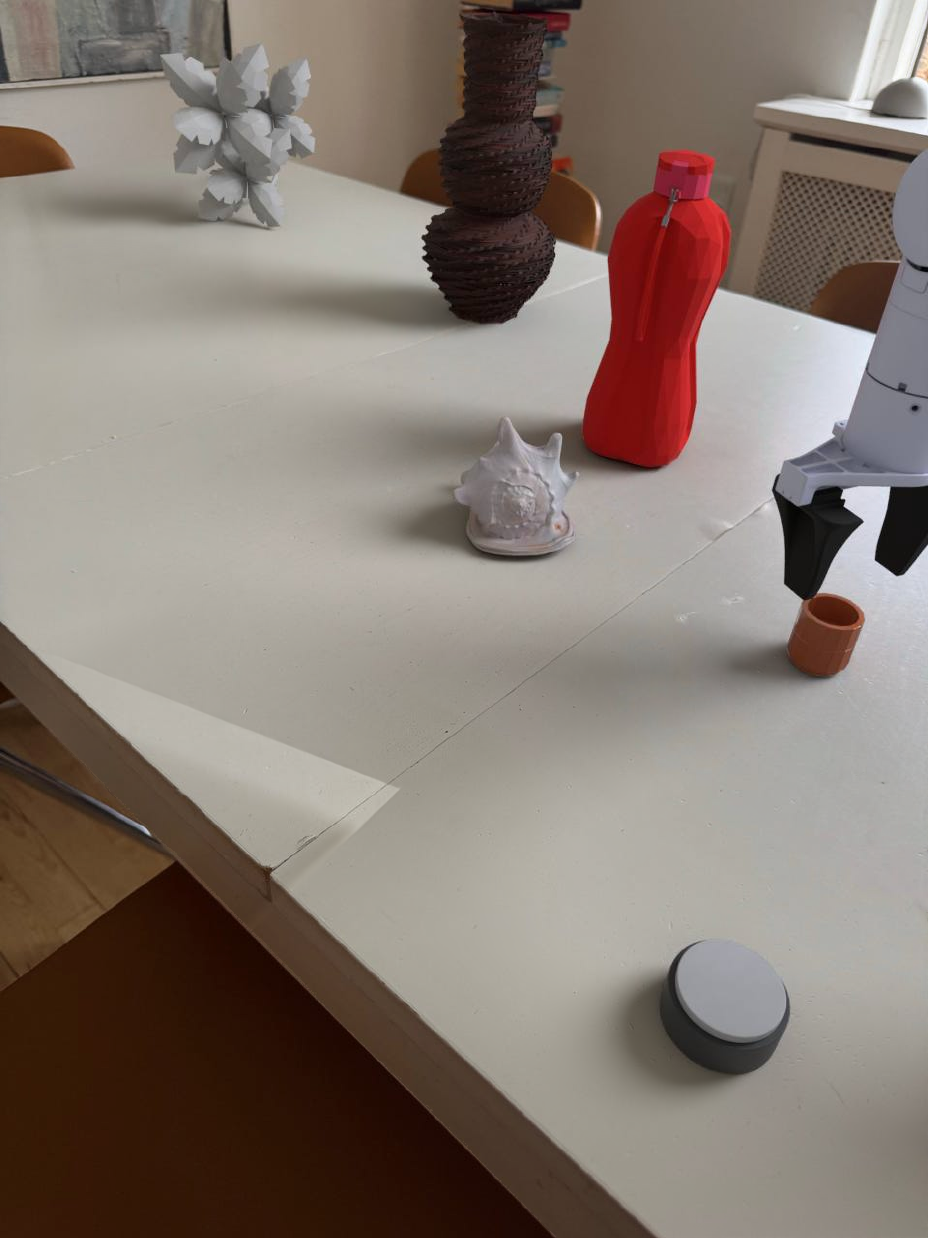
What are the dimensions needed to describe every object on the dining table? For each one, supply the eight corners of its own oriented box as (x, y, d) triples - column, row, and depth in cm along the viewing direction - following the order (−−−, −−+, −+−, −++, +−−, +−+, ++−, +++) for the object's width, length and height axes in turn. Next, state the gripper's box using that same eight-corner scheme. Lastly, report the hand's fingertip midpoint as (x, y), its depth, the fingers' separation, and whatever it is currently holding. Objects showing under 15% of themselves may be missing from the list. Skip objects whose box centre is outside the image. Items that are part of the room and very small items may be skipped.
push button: (795, 1006, 45) (810, 975, 43) (752, 1099, 41) (766, 1069, 40) (689, 944, 47) (700, 913, 46) (639, 1027, 44) (649, 996, 42)
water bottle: (563, 462, 86) (605, 158, 71) (601, 415, 94) (646, 133, 79) (664, 488, 83) (730, 178, 68) (694, 438, 91) (759, 151, 76)
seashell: (461, 567, 72) (469, 454, 66) (428, 487, 81) (433, 382, 75) (590, 556, 74) (608, 446, 68) (543, 479, 83) (556, 377, 78)
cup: (853, 657, 66) (872, 608, 64) (834, 687, 63) (854, 637, 61) (797, 634, 68) (813, 585, 65) (776, 662, 65) (793, 612, 63)
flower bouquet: (368, 192, 154) (366, 40, 141) (261, 249, 128) (247, 69, 116) (271, 178, 158) (262, 29, 145) (149, 229, 133) (124, 54, 120)
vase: (561, 335, 110) (599, 30, 92) (428, 335, 108) (440, 21, 90) (533, 289, 122) (562, 11, 104) (412, 289, 120) (420, 3, 102)
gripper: (956, 337, 59) (883, 526, 67) (768, 364, 53) (714, 566, 62) (1055, 384, 54) (963, 582, 62) (858, 419, 48) (786, 631, 57)
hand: (844, 578), depth 62 cm, fingers open, 7 cm apart
